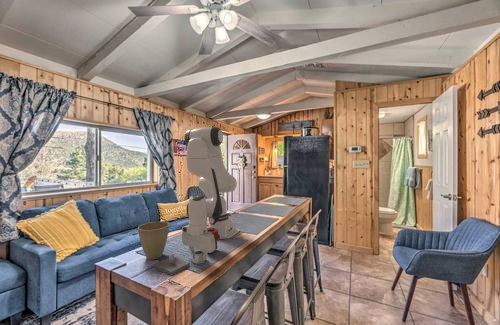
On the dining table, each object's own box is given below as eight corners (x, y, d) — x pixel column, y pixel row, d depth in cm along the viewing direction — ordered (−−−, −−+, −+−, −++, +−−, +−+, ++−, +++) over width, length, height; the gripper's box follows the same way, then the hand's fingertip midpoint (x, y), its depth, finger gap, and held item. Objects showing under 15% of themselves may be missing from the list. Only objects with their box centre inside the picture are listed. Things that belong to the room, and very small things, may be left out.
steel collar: (199, 256, 112) (199, 248, 112) (208, 259, 109) (207, 251, 109) (189, 261, 107) (189, 253, 107) (198, 264, 104) (198, 256, 104)
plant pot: (150, 265, 103) (149, 232, 103) (132, 258, 112) (131, 227, 111) (176, 254, 116) (175, 223, 116) (158, 248, 124) (158, 219, 124)
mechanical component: (199, 255, 114) (203, 247, 124) (218, 255, 114) (221, 247, 124) (198, 231, 114) (203, 225, 124) (217, 231, 113) (221, 225, 123)
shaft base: (172, 259, 110) (172, 248, 110) (189, 265, 103) (189, 254, 103) (153, 267, 102) (153, 255, 102) (171, 275, 95) (170, 262, 94)
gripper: (218, 230, 104) (218, 259, 105) (189, 224, 116) (190, 250, 116) (208, 234, 99) (209, 265, 99) (179, 227, 111) (180, 254, 111)
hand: (198, 257), depth 108 cm, fingers closed on steel collar, 6 cm apart
